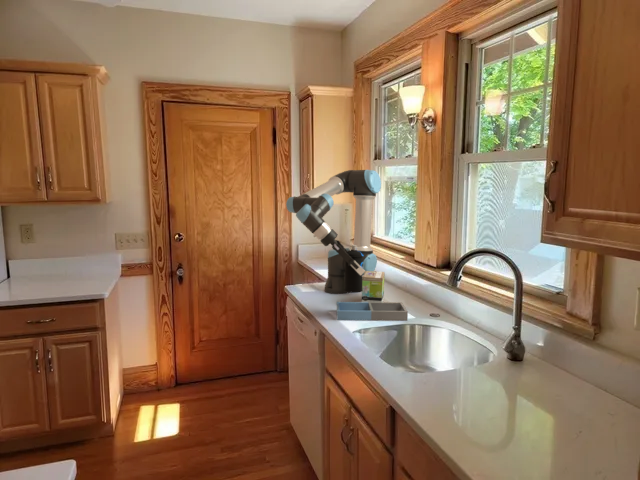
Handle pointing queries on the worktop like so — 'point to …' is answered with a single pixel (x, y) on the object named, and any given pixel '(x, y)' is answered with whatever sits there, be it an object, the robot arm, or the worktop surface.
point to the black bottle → (353, 272)
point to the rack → (372, 311)
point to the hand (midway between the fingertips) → (362, 271)
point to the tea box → (373, 286)
